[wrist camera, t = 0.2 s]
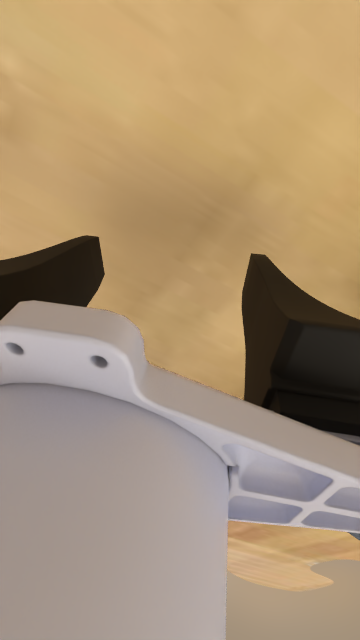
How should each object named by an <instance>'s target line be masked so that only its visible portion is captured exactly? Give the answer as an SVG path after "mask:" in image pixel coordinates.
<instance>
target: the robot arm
mask: <svg viewBox="0 0 360 640" xmlns="http://www.w3.org/2000/svg"><path fill="white" fill-rule="evenodd" d="M104 275H105V273H104V267H103V261H102V255H101V249H100V242H99V237H96V236H87V235H86V236H81V237H78V238H74V239H71V240H68V241H66V242H63V243H60V244H57V245H55V246H52V247H49V248H46V249H43V250H40V251H37V252H34V253H30V254H27V255H23V256H19V257H15V258H11V259H6V260H0V640H225V639H226V593H227V591H226V590H227V588H226V587H227V545H228V520H230V521H241V522H252V523H262V524H273V525H283V526H294V527H305V528H315V529H326V530H335V531H344V532H353V533H360V320H359V319H356V318H353V317H351V316H349V315H346V314H344V313H342V312H339V311H337V310H335V309H333V308H331V307H329V306H327V305H325V304H324V303H322V302H320V301H318V300H316V299H315V298H313V297H312V296H310V295H309V294H307V293H306V292H304V291H303V290H301V289H300V288H299V287H298V286H296V285H295V284H294V283H293V282H292V281H290V280H289V279H288V278H287V277H286V276H285V275H284V274H283V273H282V272H281V271H280V270H279V269H278V268H277V267H276V266H275V265H274V264H273V263H272V262H271V260H270V259H269V258H268V257H267V256H266V255H261V254H252V253H251V256H250V260H249V265H248V269H247V274H246V278H245V282H244V287H243V291H242V316H243V326H244V336H245V347H246V363H245V393H244V400H242V399H239V398H237V397H234V396H232V395H229V394H226V393H224V392H221V391H219V390H216V389H214V388H211V387H209V386H206V385H204V384H201V383H198V382H196V381H193V380H191V379H188V378H186V377H183V376H181V375H178V374H176V373H173V372H170V371H168V370H165V369H163V368H160V367H158V366H155V365H153V364H150V363H149V362H148V361H147V360H146V358H145V354H144V340H143V338H142V335H141V333H140V331H139V328H138V327H137V326H136V325H135V324H133V323H132V322H131V321H130V320H129V319H128V318H126V317H125V316H123V315H120V314H117V313H114V312H111V311H108V310H102V309H94V308H87V305H88V304H89V302H90V301H91V299H92V298H93V296H94V295H95V293H96V292H97V290H98V288H99V286H100V284H101V282H102V279H103V277H104Z"/></svg>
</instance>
